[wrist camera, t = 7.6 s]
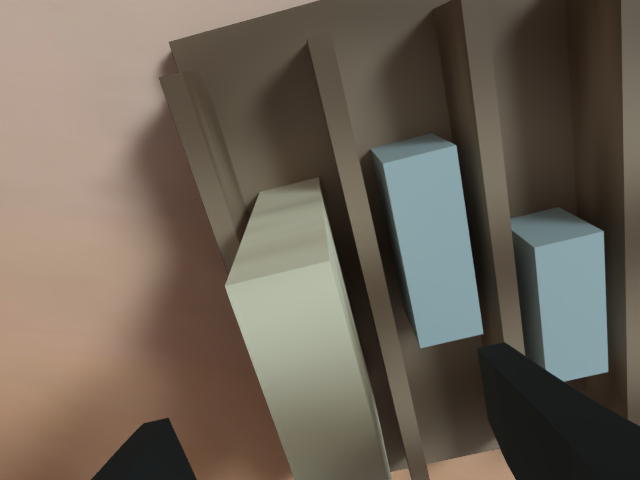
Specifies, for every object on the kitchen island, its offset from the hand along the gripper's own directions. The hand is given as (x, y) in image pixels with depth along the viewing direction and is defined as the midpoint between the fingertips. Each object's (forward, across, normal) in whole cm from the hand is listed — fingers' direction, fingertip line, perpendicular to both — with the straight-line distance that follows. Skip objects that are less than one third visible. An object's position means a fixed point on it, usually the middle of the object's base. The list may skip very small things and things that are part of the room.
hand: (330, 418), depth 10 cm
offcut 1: (+6, -4, -2) cm, 7 cm away
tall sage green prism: (+6, 0, 0) cm, 6 cm away
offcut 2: (+6, -8, +1) cm, 10 cm away
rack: (+7, -6, 0) cm, 9 cm away
